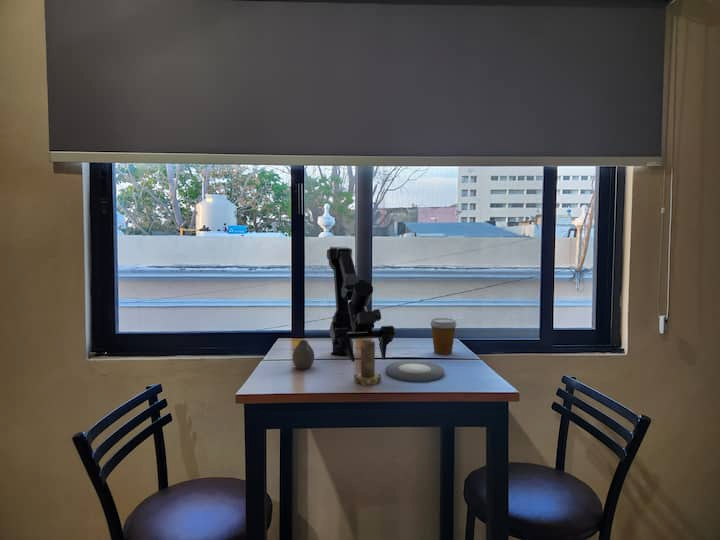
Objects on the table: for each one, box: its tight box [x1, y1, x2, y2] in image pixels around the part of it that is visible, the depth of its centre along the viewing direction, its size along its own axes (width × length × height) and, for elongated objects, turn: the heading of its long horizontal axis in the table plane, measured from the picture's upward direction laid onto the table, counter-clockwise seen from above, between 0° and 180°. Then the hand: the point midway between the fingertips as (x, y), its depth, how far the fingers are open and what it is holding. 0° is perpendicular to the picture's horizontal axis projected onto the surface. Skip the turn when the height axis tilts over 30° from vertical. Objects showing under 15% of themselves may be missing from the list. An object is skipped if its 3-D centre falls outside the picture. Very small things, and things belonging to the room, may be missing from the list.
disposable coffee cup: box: [429, 317, 458, 356], centre depth 167 cm, size 10×10×12 cm
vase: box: [292, 339, 315, 370], centre depth 147 cm, size 7×7×9 cm
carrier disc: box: [385, 360, 445, 383], centre depth 143 cm, size 18×18×1 cm
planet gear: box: [353, 340, 382, 386], centre depth 134 cm, size 8×8×12 cm
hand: (369, 360), depth 132 cm, fingers open, 9 cm apart
